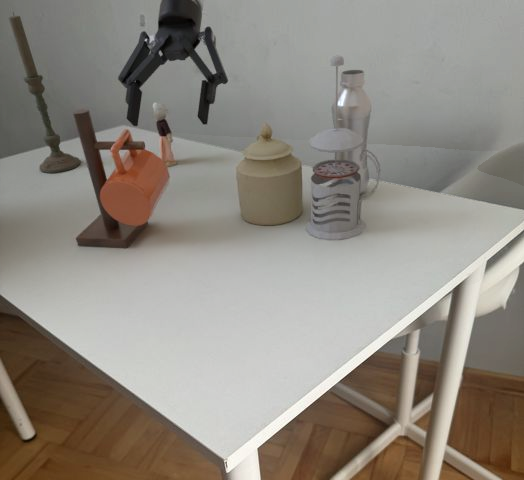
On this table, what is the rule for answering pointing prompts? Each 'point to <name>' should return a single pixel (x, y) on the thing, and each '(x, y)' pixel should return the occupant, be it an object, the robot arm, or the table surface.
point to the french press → (337, 182)
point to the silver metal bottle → (353, 120)
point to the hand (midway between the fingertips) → (166, 121)
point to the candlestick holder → (41, 104)
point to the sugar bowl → (269, 181)
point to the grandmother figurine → (164, 134)
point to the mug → (134, 184)
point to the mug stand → (104, 226)
